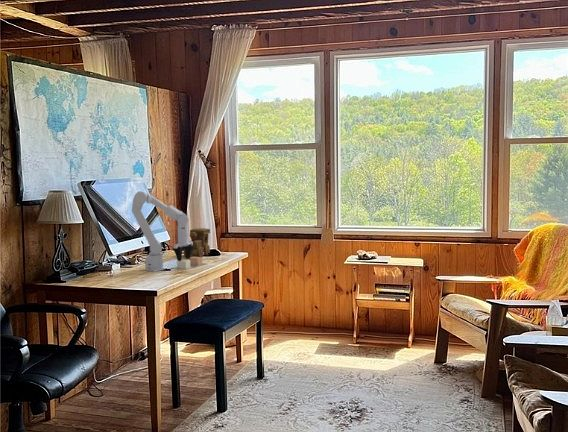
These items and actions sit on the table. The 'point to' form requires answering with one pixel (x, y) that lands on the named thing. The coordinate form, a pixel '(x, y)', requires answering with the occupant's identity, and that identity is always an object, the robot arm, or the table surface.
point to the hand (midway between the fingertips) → (183, 259)
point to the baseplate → (193, 263)
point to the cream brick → (183, 264)
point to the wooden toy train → (199, 241)
